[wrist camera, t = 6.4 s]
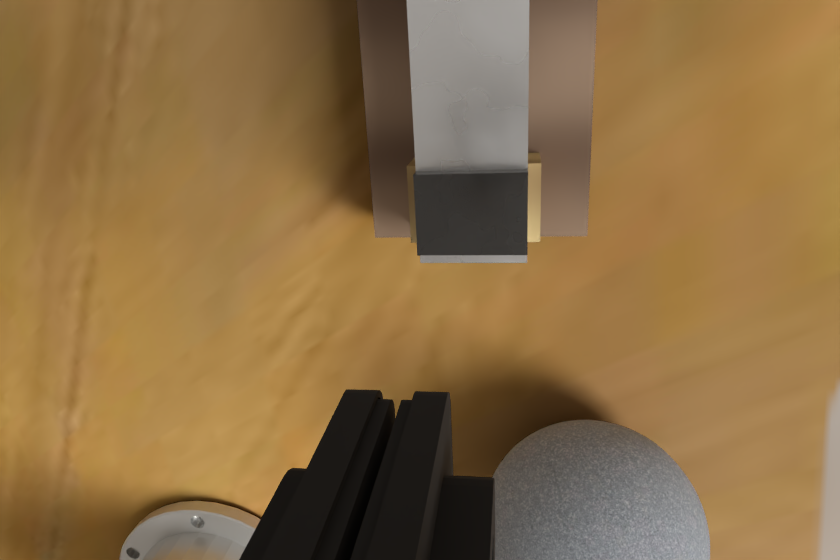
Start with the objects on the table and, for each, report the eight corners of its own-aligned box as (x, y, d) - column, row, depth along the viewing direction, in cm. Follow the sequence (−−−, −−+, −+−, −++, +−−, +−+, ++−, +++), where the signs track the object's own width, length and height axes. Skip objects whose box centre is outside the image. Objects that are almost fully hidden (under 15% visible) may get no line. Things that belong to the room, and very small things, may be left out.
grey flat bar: (534, 251, 25) (535, 268, 23) (417, 252, 25) (410, 268, 24) (541, -309, 19) (544, -344, 17) (388, -288, 19) (375, -320, 18)
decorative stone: (501, 542, 36) (494, 714, 27) (472, 390, 33) (453, 526, 24) (685, 533, 34) (746, 716, 25) (673, 371, 31) (738, 511, 22)
